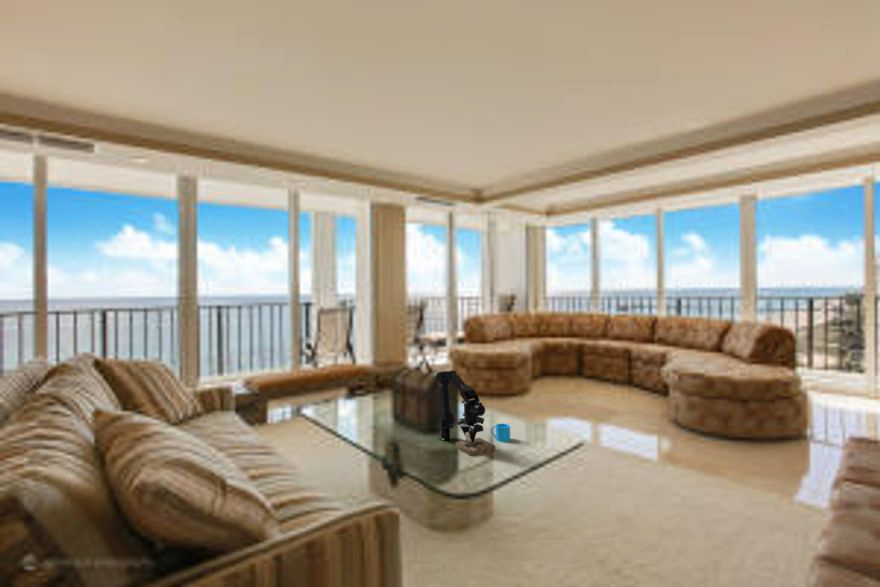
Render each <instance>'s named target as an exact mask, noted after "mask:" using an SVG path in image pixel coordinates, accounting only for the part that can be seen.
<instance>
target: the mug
mask: <svg viewBox="0 0 880 587" xmlns="http://www.w3.org/2000/svg"><path fill="white" fill-rule="evenodd" d="M494 429H495V433H494ZM490 433H491V435H492V436H493V437H495V439H496V441H497V442H499V441H500V443H507V441H508V442H510V441H511V425H510V424H509V423H498V424H497V423H496V424H495V425H493V426H492V427H491V429H490Z"/></svg>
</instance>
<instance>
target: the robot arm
mask: <svg viewBox="0 0 880 587" xmlns="http://www.w3.org/2000/svg"><path fill="white" fill-rule="evenodd" d="M435 379H436V383H437V384H438V386H439V394H440V405H441V407H440V408H441V412H440V415H439V418H438V420H439V421H438V422H437V423H436V430H439V432H440V435H439V437H441V438H444V439H449V440H451V439H450V437H451V431H450V430H451V428H453V427H454V424H455V414H454V413H453V412H451V404H450V394H449V393H450V391H449V385H450V383H451V382H452V384H453V385H454V386H455V387H456V388H457V389H458V391H459V396H461V398H462V400H461V403H462V404H463V413H462V417H463V418H458V419H457V420H456V424H457V425H458V426H459V428H460V429H461V431H462V433H463V435H464V437H465V438H466V432H469V435H470V439H471V442H474V439H475V438H476V435H477V433H479V432H483V431H484V426H483V424H484V422H485V418H484V417H482V416H484V414H485V413H486V407H485V405H483V402H480V401H481V400H480V398H479V396H478V394H477V391H476V389H475V388H474V387H472V386H471V385H468V384H466V383H465V382H464V381H463V379H462V378H461V377H460V376H459V375H458V373H457V371H456V370H444V371H438V372H437V373H436V374H435Z"/></svg>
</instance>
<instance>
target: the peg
mask: <svg viewBox="0 0 880 587" xmlns="http://www.w3.org/2000/svg"><path fill="white" fill-rule="evenodd" d="M465 441H466V442H468V448H469V447H473V442H471V439H470V435H469V432H466V437H465ZM474 441H475V439H474Z"/></svg>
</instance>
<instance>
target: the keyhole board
mask: <svg viewBox="0 0 880 587" xmlns="http://www.w3.org/2000/svg"><path fill="white" fill-rule="evenodd" d="M454 445H455V448H456V447H457V449H458V450H460V451H461V452H463V453H464V454H466V455H467V456H470V457H472V456H477V455H481V454H486V453H489V452H495V451H496V449H497V448H496V445H495V444H493V443H491V442H489V441H488V440H485V439H483V438H481V437H475V441H474V442H473V447H469V448H468V442H466V440H461V441H457V442H455V443H454Z"/></svg>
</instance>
